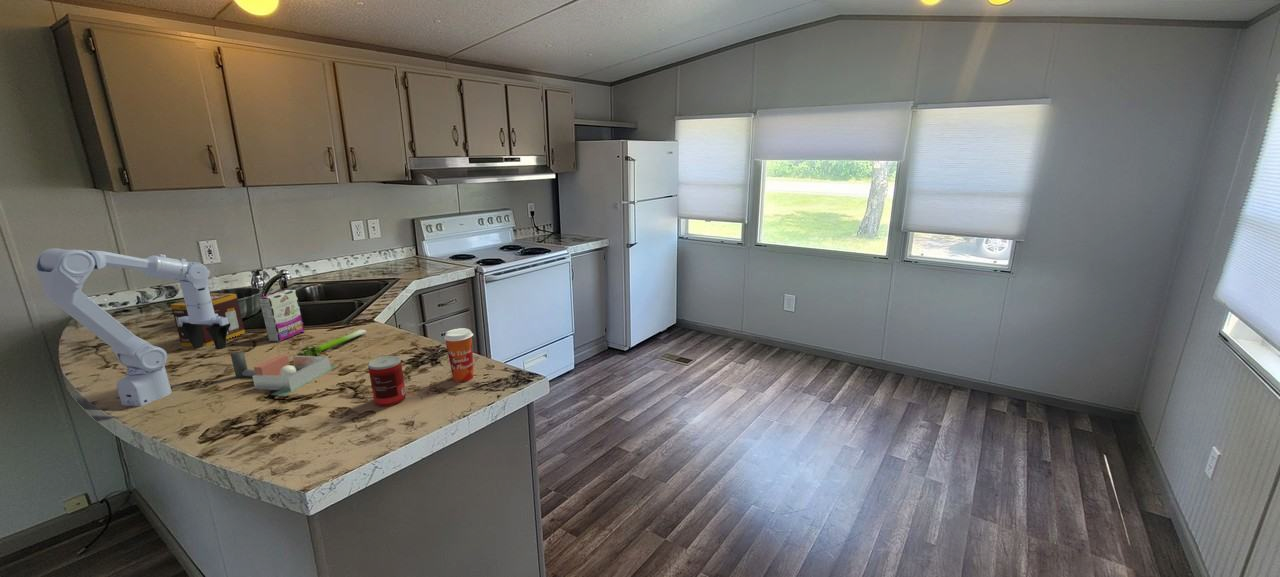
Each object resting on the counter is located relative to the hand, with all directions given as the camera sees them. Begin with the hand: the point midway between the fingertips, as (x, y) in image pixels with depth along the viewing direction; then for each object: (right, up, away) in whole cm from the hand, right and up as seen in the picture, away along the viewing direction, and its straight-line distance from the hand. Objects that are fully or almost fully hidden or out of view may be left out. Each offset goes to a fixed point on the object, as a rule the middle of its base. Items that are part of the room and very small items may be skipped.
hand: (209, 347), depth 149 cm
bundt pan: (-45, +5, +63) cm, 77 cm away
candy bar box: (-3, 0, +37) cm, 37 cm away
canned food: (+60, -12, -15) cm, 63 cm away
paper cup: (+75, -9, -2) cm, 76 cm away
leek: (+22, -4, +24) cm, 32 cm away
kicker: (+15, -8, -1) cm, 17 cm away
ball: (+25, -7, -3) cm, 26 cm away
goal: (+26, -9, -2) cm, 28 cm away
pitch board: (+15, -9, -1) cm, 18 cm away
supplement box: (-29, -1, +36) cm, 46 cm away
